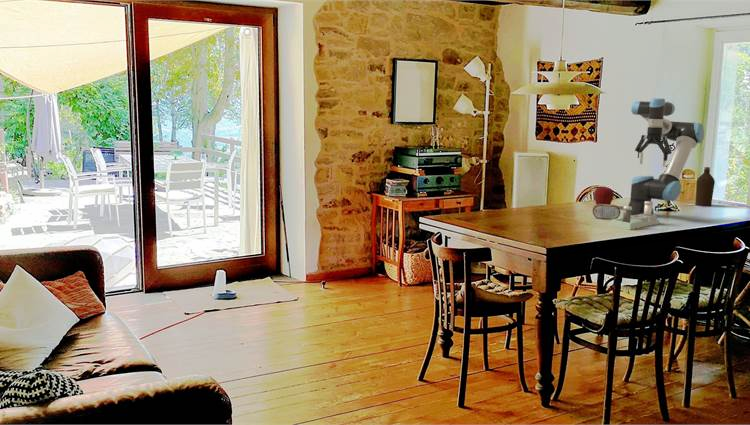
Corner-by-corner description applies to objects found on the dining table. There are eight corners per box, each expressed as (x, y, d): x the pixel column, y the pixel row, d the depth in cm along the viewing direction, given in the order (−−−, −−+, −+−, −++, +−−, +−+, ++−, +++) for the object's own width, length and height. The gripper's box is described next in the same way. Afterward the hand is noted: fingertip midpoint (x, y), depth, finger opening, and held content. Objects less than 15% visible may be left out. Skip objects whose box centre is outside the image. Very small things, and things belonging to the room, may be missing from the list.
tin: (619, 219, 389) (620, 204, 387) (619, 220, 386) (621, 205, 384) (591, 217, 393) (593, 203, 391) (592, 218, 390) (593, 204, 388)
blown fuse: (620, 224, 367) (622, 206, 365) (624, 223, 369) (626, 205, 368) (627, 226, 364) (629, 207, 362) (631, 225, 366) (633, 206, 364)
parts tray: (609, 226, 368) (610, 219, 367) (622, 223, 375) (622, 217, 374) (629, 229, 358) (630, 223, 358) (642, 227, 366) (643, 221, 365)
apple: (604, 209, 423) (606, 187, 421) (589, 206, 432) (590, 185, 430) (616, 207, 430) (618, 186, 428) (600, 204, 439) (602, 184, 437)
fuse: (641, 219, 379) (643, 201, 377) (645, 218, 382) (647, 200, 380) (648, 220, 376) (650, 202, 374) (652, 219, 378) (654, 201, 377)
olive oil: (714, 207, 440) (718, 168, 436) (696, 206, 442) (700, 167, 437) (709, 204, 450) (713, 166, 446) (692, 203, 452) (696, 166, 448)
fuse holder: (625, 223, 375) (626, 215, 374) (642, 220, 385) (643, 212, 385) (642, 226, 367) (642, 218, 367) (659, 223, 378) (659, 215, 377)
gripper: (630, 125, 381) (627, 163, 384) (673, 128, 361) (669, 168, 365) (638, 125, 385) (634, 163, 389) (680, 128, 366) (676, 167, 370)
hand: (651, 165), depth 377 cm, fingers open, 13 cm apart
